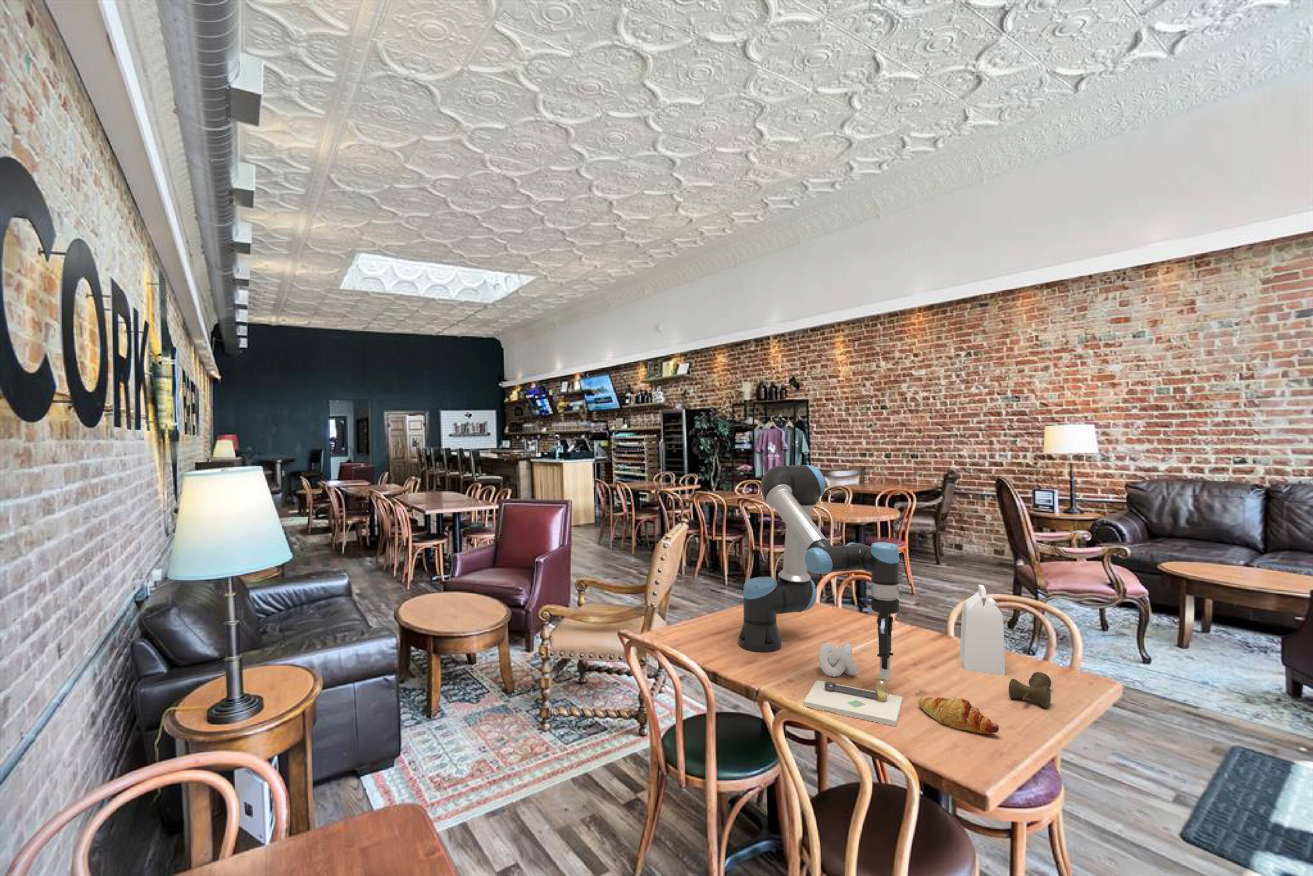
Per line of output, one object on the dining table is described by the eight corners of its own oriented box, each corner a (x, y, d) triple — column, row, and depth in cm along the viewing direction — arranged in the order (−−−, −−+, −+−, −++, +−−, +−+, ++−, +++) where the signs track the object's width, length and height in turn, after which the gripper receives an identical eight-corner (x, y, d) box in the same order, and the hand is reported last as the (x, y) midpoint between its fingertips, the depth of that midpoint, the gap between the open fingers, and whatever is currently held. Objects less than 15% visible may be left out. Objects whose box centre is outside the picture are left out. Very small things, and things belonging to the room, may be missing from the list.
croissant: (912, 722, 163) (905, 700, 161) (929, 697, 169) (922, 675, 167) (994, 754, 147) (987, 730, 144) (1010, 724, 152) (1003, 700, 150)
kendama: (1061, 695, 174) (1043, 715, 160) (1023, 686, 181) (1003, 705, 167) (1060, 674, 174) (1043, 693, 160) (1023, 666, 181) (1003, 683, 167)
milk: (959, 657, 202) (960, 580, 201) (998, 662, 198) (998, 584, 197) (964, 670, 190) (964, 589, 190) (1005, 676, 186) (1005, 593, 186)
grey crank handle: (823, 689, 172) (823, 672, 172) (825, 685, 175) (825, 668, 175) (886, 701, 164) (886, 683, 164) (887, 697, 167) (888, 679, 167)
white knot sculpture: (823, 663, 197) (823, 636, 197) (861, 669, 191) (861, 642, 191) (815, 675, 187) (815, 647, 187) (855, 683, 181) (855, 653, 181)
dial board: (803, 706, 165) (803, 701, 165) (816, 685, 179) (816, 680, 179) (896, 726, 154) (896, 720, 154) (902, 702, 168) (902, 696, 168)
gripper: (896, 604, 164) (896, 689, 164) (901, 593, 176) (901, 673, 176) (867, 601, 168) (868, 684, 168) (874, 590, 179) (874, 668, 180)
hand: (885, 678), depth 172 cm, fingers closed
